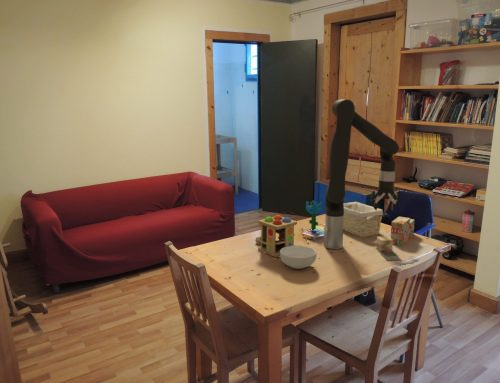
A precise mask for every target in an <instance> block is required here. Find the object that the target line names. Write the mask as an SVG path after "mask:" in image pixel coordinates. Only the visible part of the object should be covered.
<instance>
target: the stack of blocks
mask: <svg viewBox="0 0 500 383" xmlns="http://www.w3.org/2000/svg"><path fill="white" fill-rule="evenodd" d="M390 228H391V229H390V238H391V239H392V240H393V245H397V244H398V246H403V245H405V243H406V242H408V241H409V239H410V238H412V237H413V235H415V233H414V232H415V231H414V230H415V219H412V218H410V217H404V216H398V217H396V218H394V220H392V221H391V227H390Z"/></svg>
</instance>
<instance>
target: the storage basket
mask: <svg viewBox="0 0 500 383" xmlns="http://www.w3.org/2000/svg"><path fill="white" fill-rule="evenodd" d="M383 214H384V211H383V209H381V208H378V207H377V210H375V209H374V206H371V205H367V204H366V203H365V204H364V203H361V202H358V201H352V202H346V203H345V202H344V222H343V231H346V232H348V233H350V234H353V235H355V236H357V237H360V238H364V237H368V236H374V235H378V234H380V230H381V223H382V219H383V218H382V217H383Z"/></svg>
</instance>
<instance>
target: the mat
mask: <svg viewBox="0 0 500 383" xmlns="http://www.w3.org/2000/svg"><path fill="white" fill-rule="evenodd" d="M375 250H377V252H378V253H379V254H380V255H381V256H382V257H383V258H384V259H385V260H386V261H387V262H391V261H393V262H394V261H395V262H397V261H399V262H400V261H401V262H402V261H403V260H402V259H401V258H400V257H399V255H397V253H395V252H394V250H392V252H380V251H379V250H378V249H377V248H375Z"/></svg>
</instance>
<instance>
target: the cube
mask: <svg viewBox="0 0 500 383" xmlns="http://www.w3.org/2000/svg"><path fill="white" fill-rule="evenodd" d="M393 246H394V244H393V240H392V239H391V236H386V235H385V236H377V237H376V248H377V249H378V250H379V251H380V252H392V251H393ZM376 248H375V249H376ZM377 249H376V250H377ZM378 250H377V251H378ZM379 251H378V252H379Z"/></svg>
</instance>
